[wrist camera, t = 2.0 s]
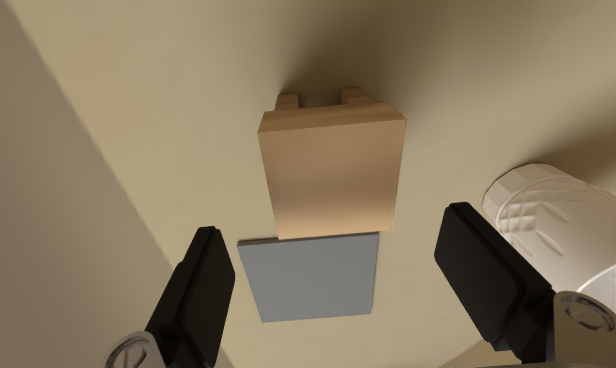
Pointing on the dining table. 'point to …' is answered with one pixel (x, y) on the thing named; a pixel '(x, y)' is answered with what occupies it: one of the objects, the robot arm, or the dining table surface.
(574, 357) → the robot arm
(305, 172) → the stool
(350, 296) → the mat
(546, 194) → the white cup
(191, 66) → the dining table surface
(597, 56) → the dining table surface
